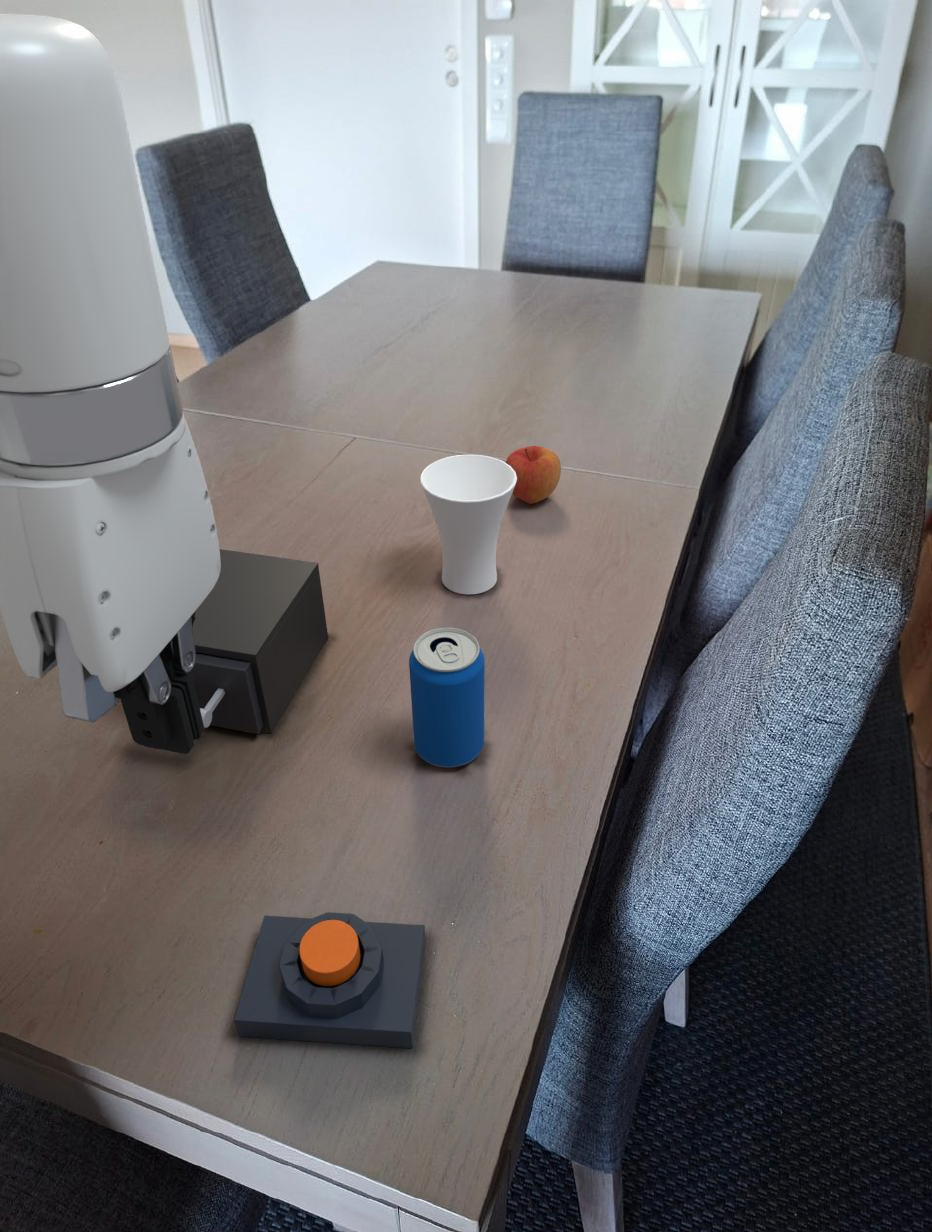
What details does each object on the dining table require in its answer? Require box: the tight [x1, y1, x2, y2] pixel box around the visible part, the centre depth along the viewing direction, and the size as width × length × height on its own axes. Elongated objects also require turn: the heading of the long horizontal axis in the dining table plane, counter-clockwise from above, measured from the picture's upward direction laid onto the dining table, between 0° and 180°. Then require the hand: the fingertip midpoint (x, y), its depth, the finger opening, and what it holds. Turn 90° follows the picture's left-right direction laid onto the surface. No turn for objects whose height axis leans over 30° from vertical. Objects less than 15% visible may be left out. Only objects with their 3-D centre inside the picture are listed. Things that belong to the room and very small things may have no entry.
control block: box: [233, 911, 427, 1049], centre depth 62 cm, size 12×8×4 cm, turn 86°
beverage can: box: [408, 627, 486, 768], centre depth 78 cm, size 6×6×12 cm
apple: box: [505, 445, 562, 505], centre depth 115 cm, size 7×7×8 cm
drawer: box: [187, 652, 264, 735], centre depth 84 cm, size 18×12×8 cm, turn 166°
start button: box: [299, 920, 360, 986], centre depth 60 cm, size 4×4×2 cm
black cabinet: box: [192, 548, 329, 734], centre depth 87 cm, size 15×13×10 cm
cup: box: [419, 453, 517, 595], centre depth 98 cm, size 10×10×14 cm
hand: (170, 738), depth 45 cm, fingers closed
